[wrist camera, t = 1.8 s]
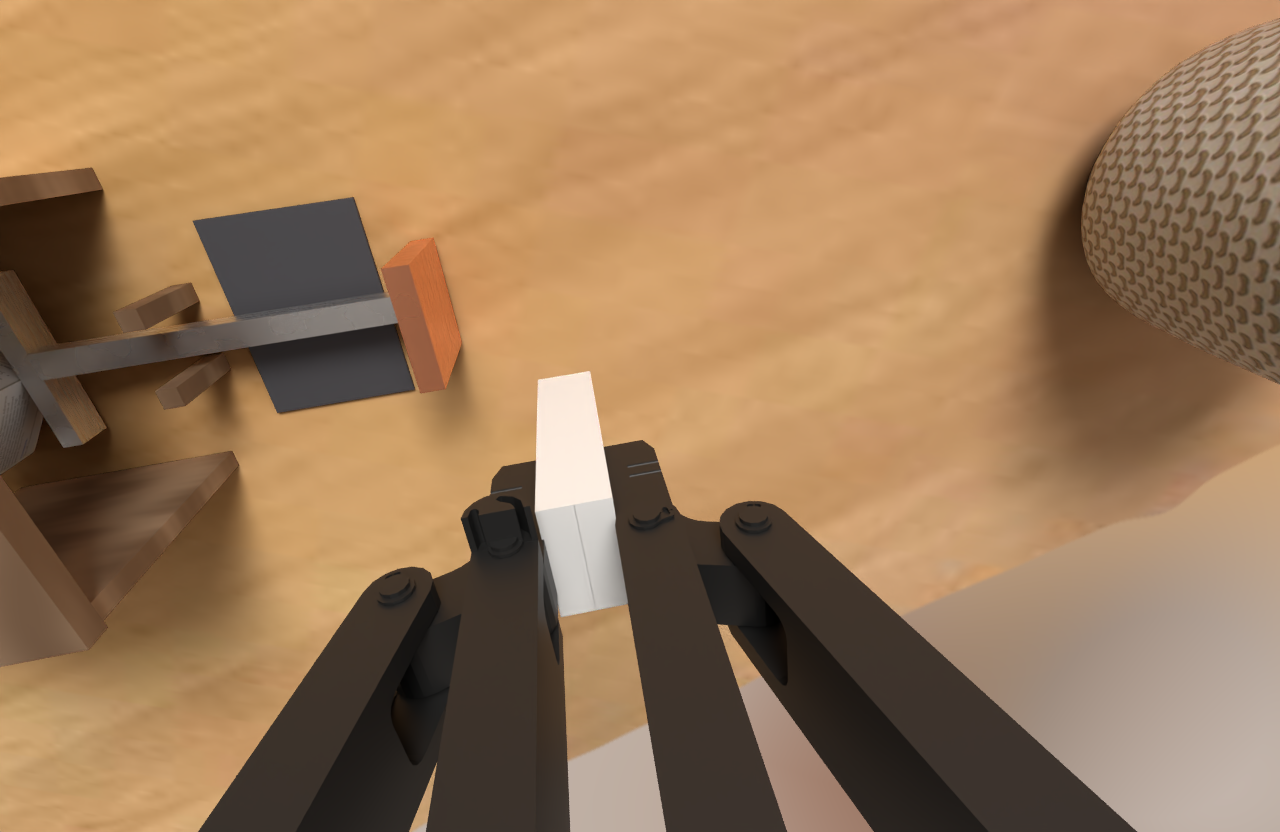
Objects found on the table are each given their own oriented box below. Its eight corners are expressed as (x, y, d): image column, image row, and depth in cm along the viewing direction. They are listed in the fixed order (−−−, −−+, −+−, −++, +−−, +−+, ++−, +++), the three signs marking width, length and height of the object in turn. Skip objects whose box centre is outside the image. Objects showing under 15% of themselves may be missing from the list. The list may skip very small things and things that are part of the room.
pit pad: (278, 411, 36) (277, 412, 36) (194, 220, 31) (192, 221, 31) (414, 388, 37) (414, 389, 37) (353, 197, 32) (352, 197, 32)
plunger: (88, 430, 34) (-9, 497, 28) (-8, 273, 30) (-144, 311, 24) (468, 366, 36) (453, 416, 30) (425, 208, 32) (398, 229, 26)
